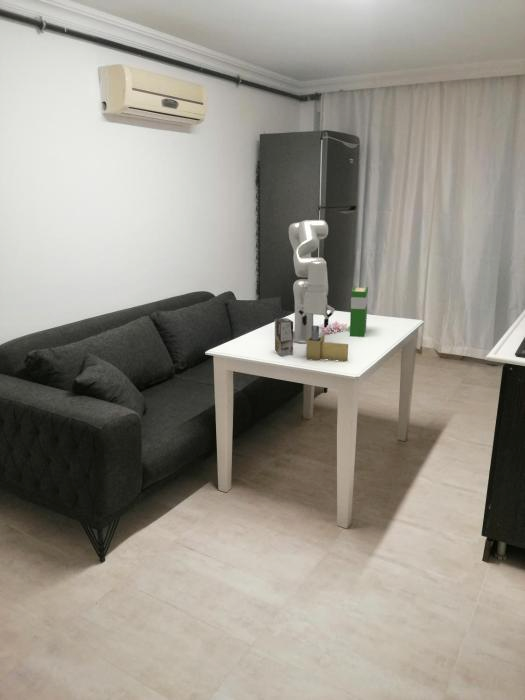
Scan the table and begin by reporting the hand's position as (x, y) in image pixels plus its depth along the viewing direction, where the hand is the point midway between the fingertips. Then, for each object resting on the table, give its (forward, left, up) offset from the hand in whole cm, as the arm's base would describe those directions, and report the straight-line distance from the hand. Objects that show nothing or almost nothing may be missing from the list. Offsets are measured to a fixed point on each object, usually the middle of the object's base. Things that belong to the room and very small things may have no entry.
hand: (315, 325), depth 248 cm
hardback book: (+9, +54, -15) cm, 57 cm away
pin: (0, -1, -15) cm, 15 cm away
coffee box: (-16, +2, -15) cm, 22 cm away
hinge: (+6, +5, -15) cm, 17 cm away
